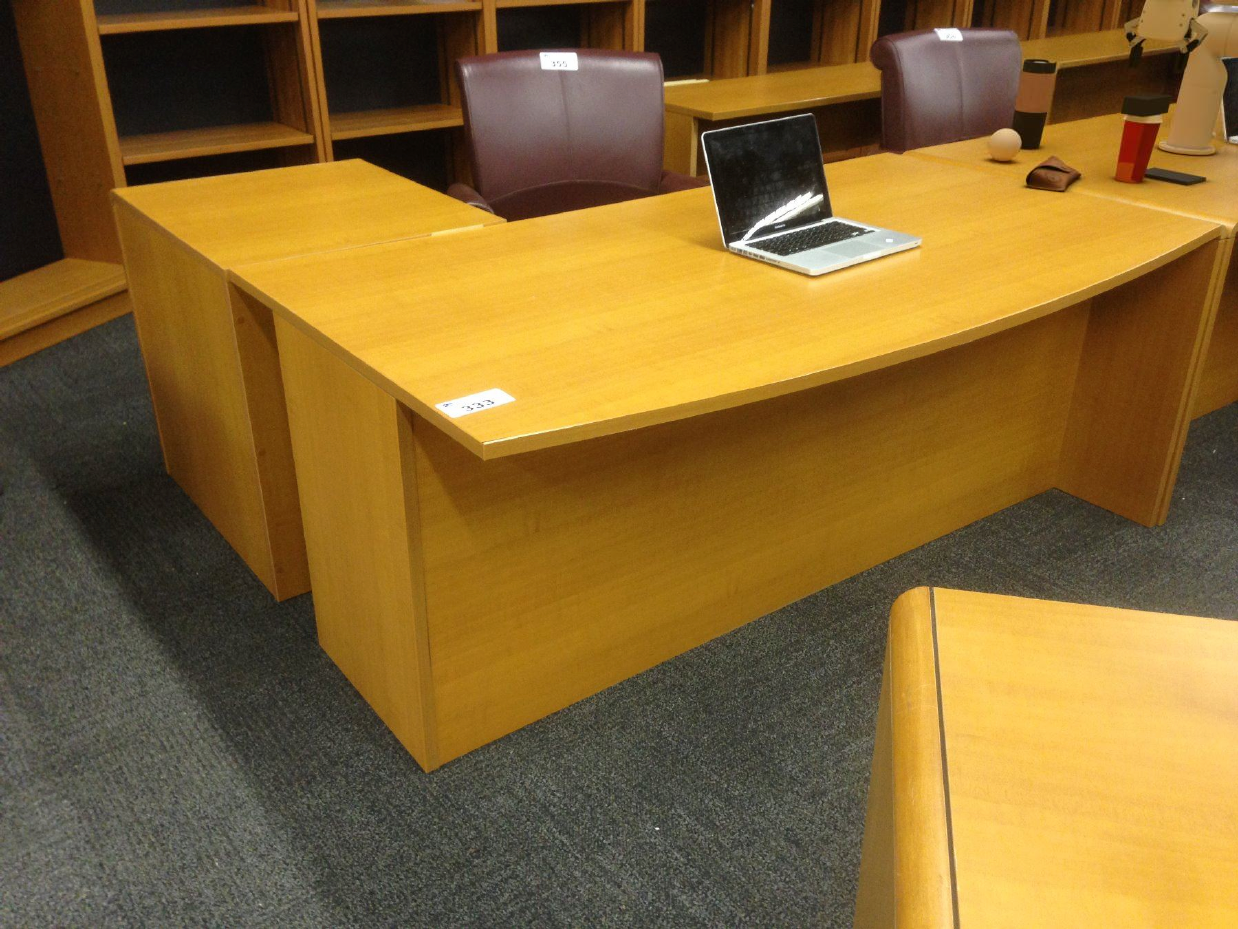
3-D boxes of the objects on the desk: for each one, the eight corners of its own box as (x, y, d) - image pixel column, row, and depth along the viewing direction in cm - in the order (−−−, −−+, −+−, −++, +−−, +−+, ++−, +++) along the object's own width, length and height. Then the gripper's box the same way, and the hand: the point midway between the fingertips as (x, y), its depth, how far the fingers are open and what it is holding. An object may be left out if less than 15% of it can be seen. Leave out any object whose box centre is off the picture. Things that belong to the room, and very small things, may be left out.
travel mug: (1006, 147, 259) (1022, 61, 250) (1009, 142, 265) (1024, 57, 256) (1039, 150, 256) (1057, 63, 247) (1040, 144, 263) (1058, 60, 253)
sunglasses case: (1066, 189, 217) (1055, 159, 216) (1033, 203, 222) (1022, 173, 221) (1083, 174, 231) (1072, 145, 230) (1051, 187, 235) (1040, 159, 234)
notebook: (1153, 170, 238) (1154, 167, 238) (1205, 180, 230) (1206, 177, 229) (1134, 174, 234) (1135, 171, 234) (1187, 185, 226) (1188, 181, 225)
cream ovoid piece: (1017, 165, 240) (1024, 132, 237) (984, 162, 243) (989, 129, 239) (1019, 157, 249) (1025, 125, 245) (986, 154, 251) (992, 122, 248)
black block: (1145, 109, 227) (1149, 92, 225) (1167, 112, 224) (1172, 95, 222) (1120, 113, 222) (1124, 96, 220) (1142, 117, 218) (1147, 99, 217)
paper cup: (1146, 177, 231) (1162, 111, 225) (1149, 185, 225) (1166, 117, 218) (1107, 174, 234) (1123, 109, 227) (1110, 181, 227) (1125, 114, 221)
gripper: (1229, -19, 207) (1205, 73, 215) (1145, -24, 219) (1126, 63, 227) (1210, -17, 203) (1186, 76, 211) (1126, -23, 215) (1107, 66, 223)
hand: (1155, 69), depth 219 cm, fingers open, 9 cm apart
